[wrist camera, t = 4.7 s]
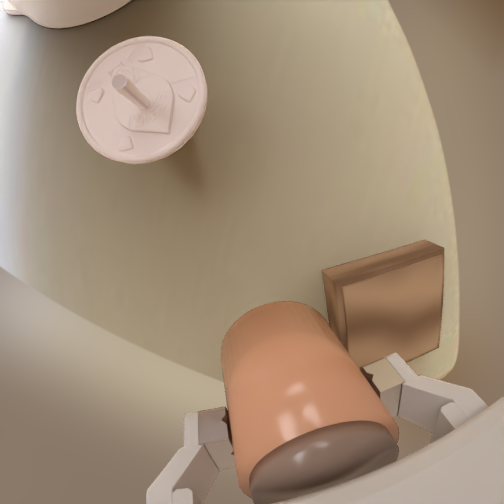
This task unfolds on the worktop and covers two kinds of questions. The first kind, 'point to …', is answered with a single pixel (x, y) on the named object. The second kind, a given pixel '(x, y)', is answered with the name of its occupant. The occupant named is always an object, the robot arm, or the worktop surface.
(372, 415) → the jar
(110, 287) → the worktop surface
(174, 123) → the smoothie
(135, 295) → the worktop surface
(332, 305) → the plinth
